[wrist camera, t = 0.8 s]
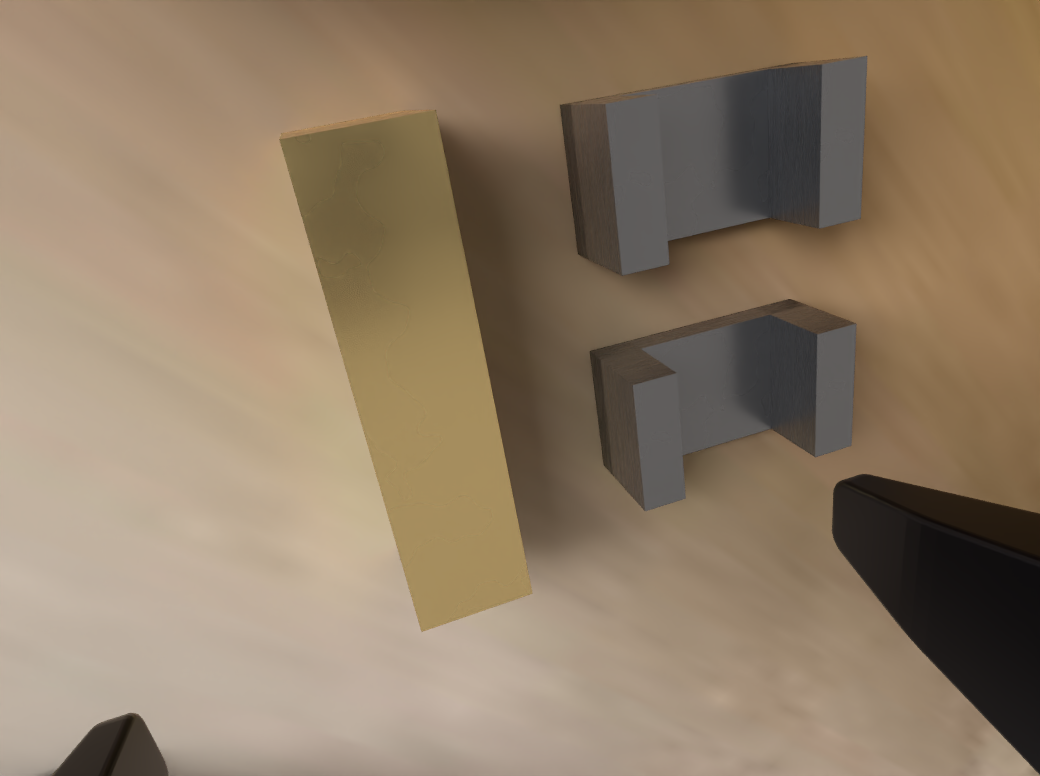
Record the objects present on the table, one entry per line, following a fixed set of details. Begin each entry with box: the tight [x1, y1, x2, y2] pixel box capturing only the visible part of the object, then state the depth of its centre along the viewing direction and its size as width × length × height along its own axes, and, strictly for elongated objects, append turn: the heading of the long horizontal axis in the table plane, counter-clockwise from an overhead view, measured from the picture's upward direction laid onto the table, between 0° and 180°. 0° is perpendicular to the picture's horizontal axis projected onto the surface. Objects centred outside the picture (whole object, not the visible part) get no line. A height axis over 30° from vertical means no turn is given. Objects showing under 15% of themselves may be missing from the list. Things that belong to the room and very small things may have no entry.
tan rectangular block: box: [279, 110, 532, 632], centre depth 18 cm, size 12×3×4 cm, turn 11°
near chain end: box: [560, 56, 867, 276], centre depth 19 cm, size 4×7×3 cm, turn 100°
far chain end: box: [590, 299, 856, 511], centre depth 22 cm, size 4×7×3 cm, turn 100°
